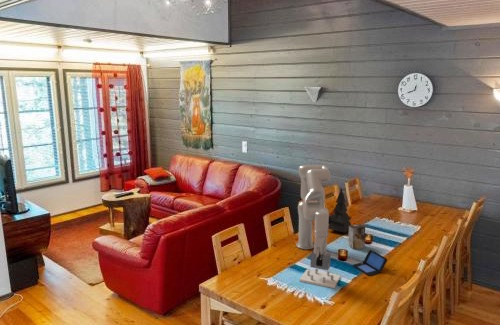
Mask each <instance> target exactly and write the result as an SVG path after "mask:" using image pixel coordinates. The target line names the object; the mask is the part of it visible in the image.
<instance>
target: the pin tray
mask: <svg viewBox="0 0 500 325" xmlns="http://www.w3.org/2000/svg"><path fill="white" fill-rule="evenodd" d="M318 269H319V268H314V270H313V269H310V268H309V269H307V268H306V270H305V271H304V272H303V274H302V275H301V276H300V278H299V279H298V281H299V282H303V283H306V284H307V283H308V284H310V285H311V284H312V285H316V286H321V287H325V288H331V289H335V288H336V287H337V285H338V284H339V281H340V280H341V275H339V274H334V273H330V270H326V272H324V271H320V270H318Z"/></svg>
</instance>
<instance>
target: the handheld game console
mask: <svg viewBox="0 0 500 325" xmlns="http://www.w3.org/2000/svg"><path fill="white" fill-rule="evenodd" d="M387 263H388V259H387V257H385V256H383V255H381V254H380V253H377V252H375V251H374V250H372V249H369V250H368V252H367V253H366V256H365V257H364V259H363V261H362V262H359V263H354V264H353V265H352V267H353V268H355V269H357V270H358V271H359V272H361V273H362V274H364V275H366V276H367V277H372V276H377V275H380V274H382V272H383V270H384V268H385V266H386V264H387Z"/></svg>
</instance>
